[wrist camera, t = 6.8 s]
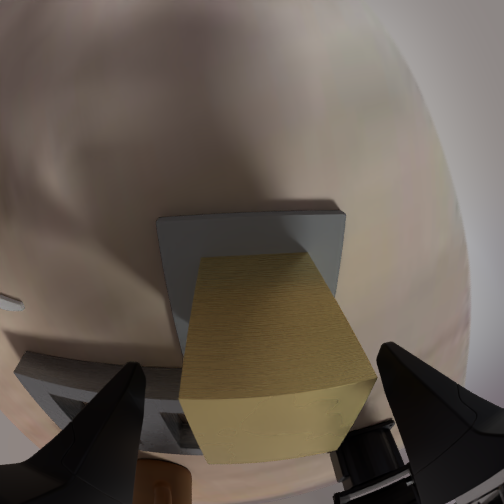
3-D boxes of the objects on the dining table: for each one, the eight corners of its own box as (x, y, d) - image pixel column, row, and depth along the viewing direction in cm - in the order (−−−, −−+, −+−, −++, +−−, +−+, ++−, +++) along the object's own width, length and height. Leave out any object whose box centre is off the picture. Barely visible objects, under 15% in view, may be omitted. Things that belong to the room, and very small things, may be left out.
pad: (341, 210, 12) (346, 214, 11) (321, 342, 15) (324, 349, 15) (159, 217, 11) (155, 222, 11) (185, 351, 15) (184, 359, 14)
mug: (131, 439, 20) (120, 516, 12) (204, 454, 22) (204, 531, 13) (133, 467, 25) (127, 523, 16) (187, 478, 26) (187, 533, 18)
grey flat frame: (287, 363, 16) (294, 394, 13) (278, 427, 19) (283, 451, 17) (26, 351, 14) (13, 372, 12) (72, 414, 18) (65, 433, 16)
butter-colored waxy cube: (307, 252, 12) (377, 377, 5) (299, 331, 14) (336, 449, 7) (200, 257, 11) (178, 399, 5) (211, 337, 13) (207, 464, 7)
